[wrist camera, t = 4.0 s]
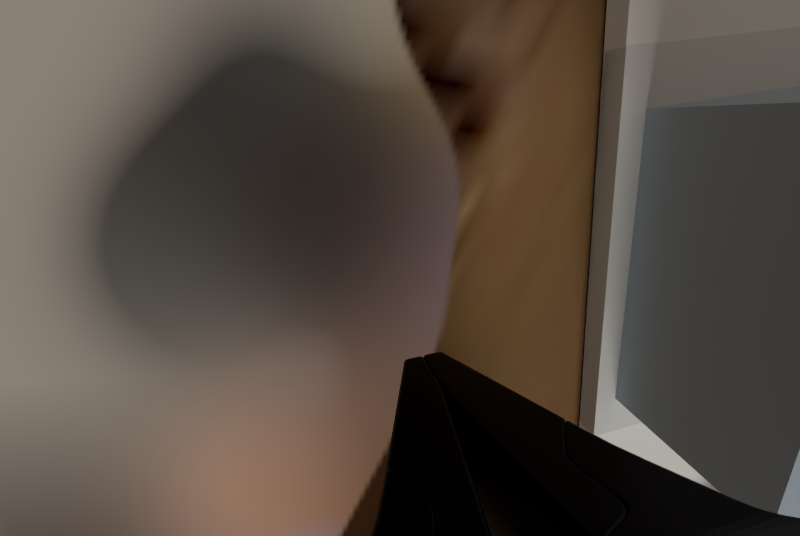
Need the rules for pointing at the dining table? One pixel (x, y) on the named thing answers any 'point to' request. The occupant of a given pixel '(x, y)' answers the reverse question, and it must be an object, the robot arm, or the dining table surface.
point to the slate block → (720, 293)
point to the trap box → (622, 146)
